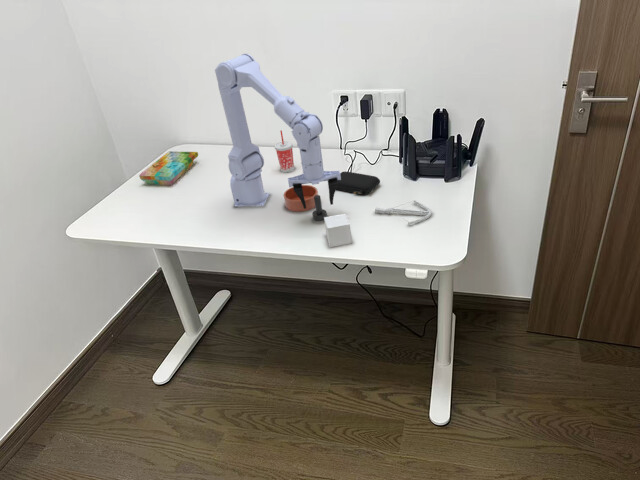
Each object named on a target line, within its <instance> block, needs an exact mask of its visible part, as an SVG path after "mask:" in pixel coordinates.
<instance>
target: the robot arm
mask: <svg viewBox="0 0 640 480" xmlns="http://www.w3.org/2000/svg"><path fill="white" fill-rule="evenodd" d="M214 73H215V77H216V81H217V86H218V91H219V95H220V99H221V102H222V106H223V110H224V116H225V119H226V123H227V128H228V131H229V134H230V138H231V143H232V148H231V150H230V151H229V153H228V155H227V159H228V171H229V172H230V174H231V176H230V181H229V183H230V185H229V186H230V191H231V195H232V199H233V203H234V204H233V207H234V208H235V207H236V208H239V207H261V206H262V207H263V206H264V205H265V204H266V202H267V199H268V197H269V196H270V192H266V191H265V188H264V183H263V182H264V181H263V177H262V172H263V167H264V166H265V159H264V157H263V154H262V153H261V150H260V146H259V145H257V144H254V143H252V139H251V135H250V129H249V126H248V121H247V117H246V112H245V108H244V104H243V103H244V102H243V100H242V94H241V89H242V88H252V89H253V90H254V91H256V92H257V93H258V94H259V95H260V96H262V98H264V99H265V100H266V101H268V102H269V103H270V104H271V105H272V106H273V111H274V114H276V115H277V117H279V118H280V119H281V120H282V121H283V122H284V124H286V125H287V126H288V127H289V128H290V129H291V134H292V137H293V138H294V140H295V141H296V145H297V148H298V149H299V154H300V155H299V156H300V161H301V168H302V174H298V175H295V176H292V177H288V178H287V182H288V187H289V188H291V187H293V189H294V192H295V193H296V194H297V196H298V197H299V198H300V200H301V202H302V204H303V207H304V209H306V203H305V199H304V195H303V189H302V185H309V184H311V185H312V186H313V185H319V184H320V183H321V182H327V186H328V198H329V199H328V200H329V203H330V206H331V205H334V197H335V193H336V191H337V190H336V188H337V186H338V182H337V180H341V175H340V173H341V171H340V170H325V169H324V162H323V153H322V146H321V145H322V144H321V139H320V135H321V134H322V133H323V130H324V129H323V128H324V126H323V122H322V121H321V120H322V119H320V118H319V116H318V115H316V113H310V112H309V111H305V110H304V109H303V108H302V107H301V106H300V105H299V104H298V103H297V102H296V101H295V99H294V98H293V97H291V96H290V95H282V93H281V92H280V91H279V90H278V89H277V88H276V86H274V85H273V83H272V82H271V81H270V80H269V79H268V77H266V75H265V74H264V73H263V71H261V67H260V63H259V62H258V61H256V60H255V58H254V57H253V56H252V55H251V54H249V53H243V54H241V55H239V56H236V57H233V58H230V59H229V60H226V61H221V62H220V63H219V64H218V65H217V66H216V68H214Z"/></svg>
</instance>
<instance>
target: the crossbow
mask: <svg viewBox="0 0 640 480" xmlns="http://www.w3.org/2000/svg"><path fill="white" fill-rule="evenodd" d="M412 202H413V203H414V204H415V205H417V206H419V207H421V208H422V209H421V210H416V209H405V208H399V207H400V206H403V205H406V204H409V203H412ZM423 209H424V210H423ZM374 213H375V214H388V215H390V214H396V215H397V216H399V217H400V218H402V219H404V220H405V221H406V222H407V225H408V226H410V225H414V224H418V223H420V222H423V221H425V220H427V219H429V218H430V217H431V215H432V211H431V210H430V209H429V208H428V207H427V206H426V205H424V204H422V203H421V202H419V201H417V200H416V199H414V200H411V201H409V202H406V203H403V204H400V205H398V206H394V207H389V208H388V207H387V208H381V207H375V209H374ZM399 214H404V215H412V216H413V215H416V216H423V217H421V218H418V219H415V220H412V221H408V220H407V219H405V218H404V217H402V216H401V215H399Z"/></svg>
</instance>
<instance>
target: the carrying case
mask: <svg viewBox="0 0 640 480" xmlns="http://www.w3.org/2000/svg"><path fill="white" fill-rule="evenodd" d="M340 175H341V180H337V182H338V186H337V188H336V190H335V191H343V192H348V193H352V194H353V195H364V196H365V195H370V194H371V193H372V192H373V191H374V190H375V189H376V188H377V187H378V186H379V185H380V184H381V179H380V178H378V177H377V176H375V175H371V174H366V173H365V174H364V173H359V172H352V171H342V172H341V171H340Z"/></svg>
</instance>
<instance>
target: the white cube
mask: <svg viewBox="0 0 640 480" xmlns="http://www.w3.org/2000/svg"><path fill="white" fill-rule="evenodd" d="M323 222H324V228H325V229H324V230H325V235H326V238H327V243H328V245H329V247H330V248H333V247H334V248H335V247H339V246H344V245H349V244H352V243H353V241H352V231H351V223H350V221H349V218H348V216H347V214H346V213H340V214H335V215H330V216H327V217H324V221H323Z"/></svg>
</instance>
